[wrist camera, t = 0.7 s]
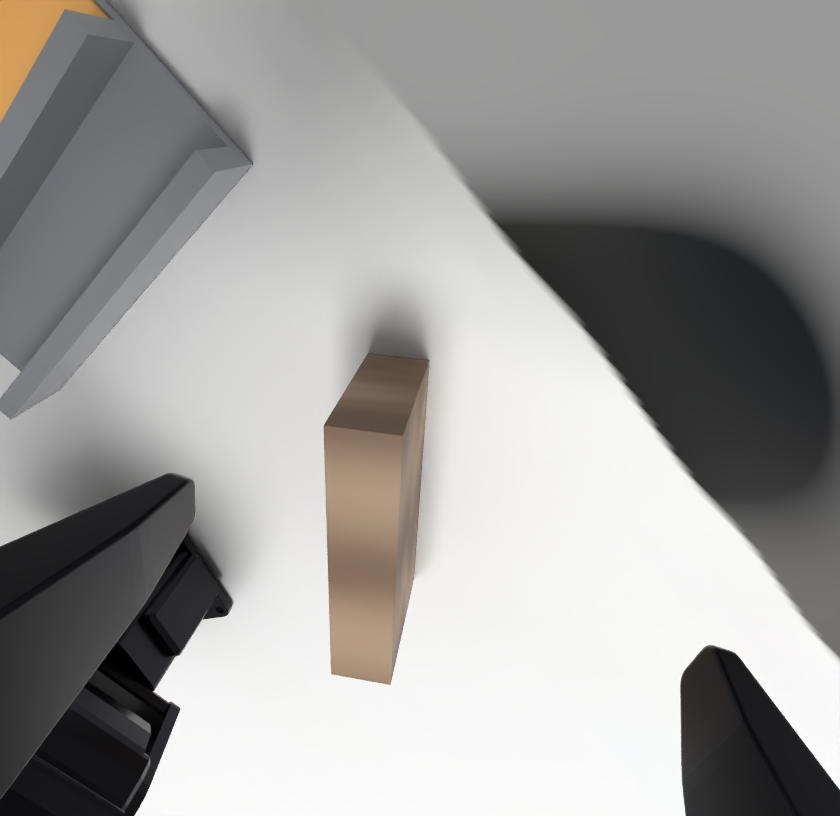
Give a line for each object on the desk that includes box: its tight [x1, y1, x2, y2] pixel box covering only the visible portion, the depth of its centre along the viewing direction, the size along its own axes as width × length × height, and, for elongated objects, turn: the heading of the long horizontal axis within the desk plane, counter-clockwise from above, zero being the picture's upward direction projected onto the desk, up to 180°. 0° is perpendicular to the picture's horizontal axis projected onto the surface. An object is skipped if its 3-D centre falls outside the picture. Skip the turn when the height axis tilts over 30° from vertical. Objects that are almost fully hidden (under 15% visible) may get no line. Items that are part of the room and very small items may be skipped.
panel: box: [324, 354, 429, 685], centre depth 23 cm, size 12×2×6 cm, turn 177°
